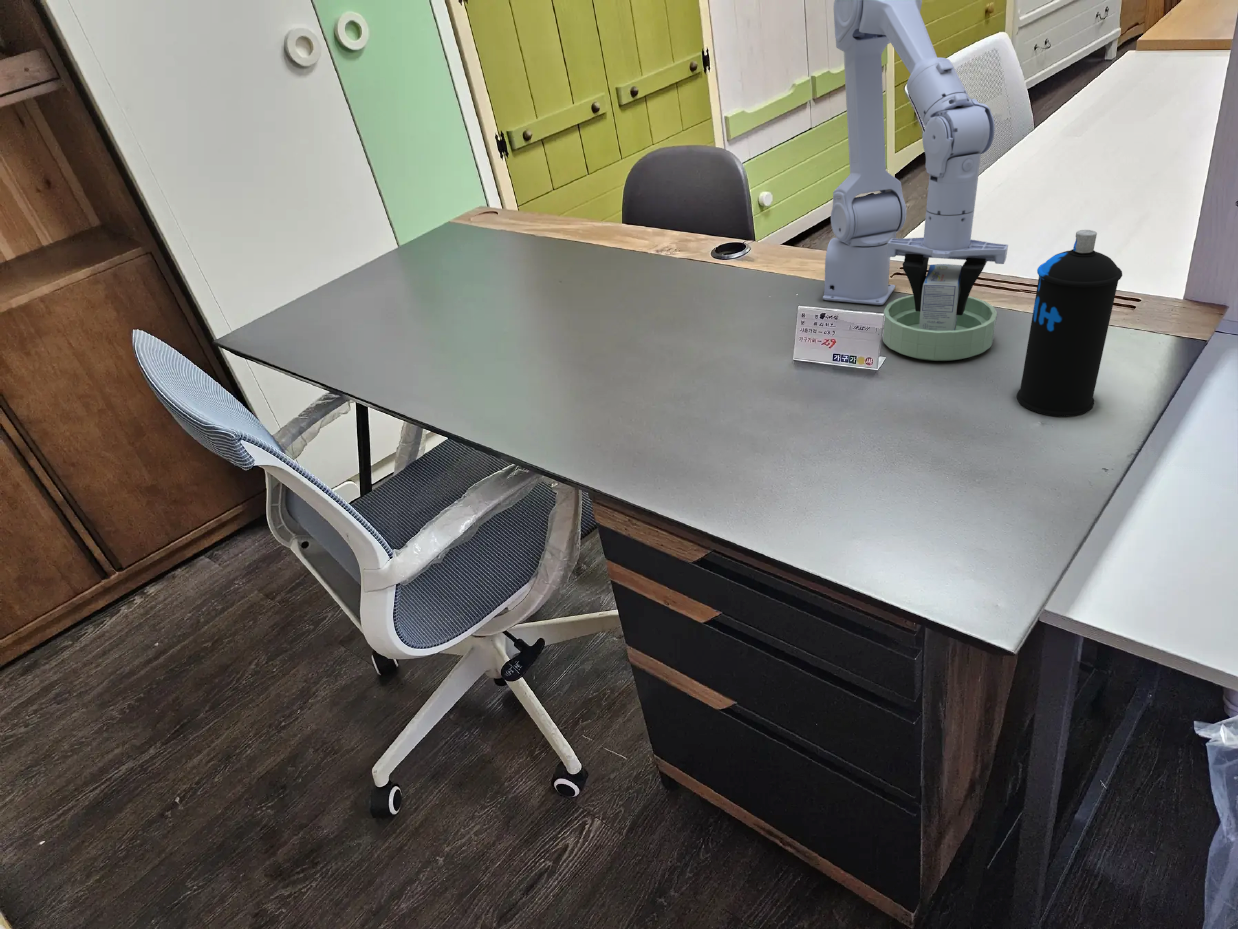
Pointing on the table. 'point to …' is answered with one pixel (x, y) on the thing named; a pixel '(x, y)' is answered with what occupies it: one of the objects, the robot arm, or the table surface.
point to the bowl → (939, 345)
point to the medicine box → (940, 297)
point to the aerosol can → (1068, 329)
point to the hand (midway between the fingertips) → (939, 310)
